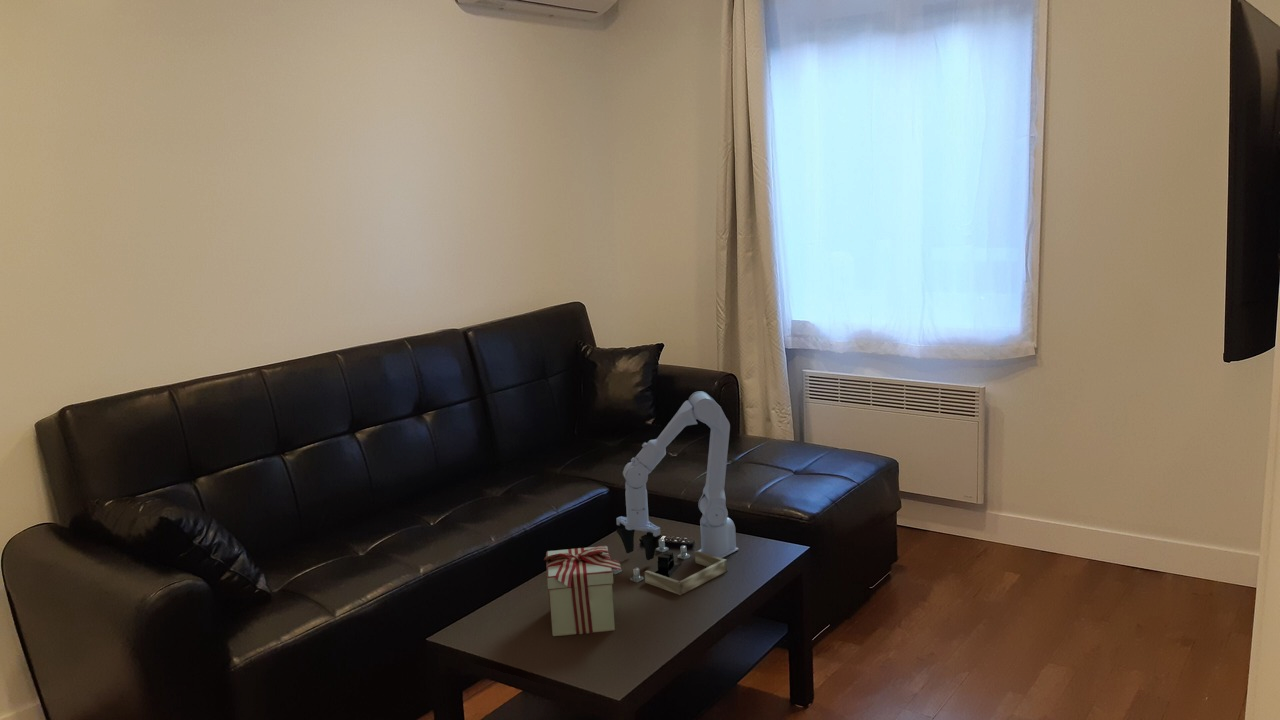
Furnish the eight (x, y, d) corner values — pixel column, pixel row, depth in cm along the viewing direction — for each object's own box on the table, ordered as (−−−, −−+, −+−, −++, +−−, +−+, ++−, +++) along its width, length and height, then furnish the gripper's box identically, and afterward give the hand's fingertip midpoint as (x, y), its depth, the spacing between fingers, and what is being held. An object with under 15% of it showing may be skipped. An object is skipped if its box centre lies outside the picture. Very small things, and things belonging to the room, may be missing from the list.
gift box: (553, 646, 210) (547, 573, 207) (545, 610, 228) (539, 542, 224) (629, 635, 213) (624, 563, 210) (615, 600, 231) (610, 533, 227)
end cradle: (692, 559, 252) (691, 549, 252) (727, 570, 244) (726, 559, 243) (645, 582, 240) (644, 571, 239) (680, 595, 231) (679, 583, 231)
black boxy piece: (669, 582, 240) (668, 565, 239) (643, 579, 243) (642, 562, 242) (687, 563, 251) (686, 546, 251) (662, 560, 254) (661, 544, 254)
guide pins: (662, 547, 261) (661, 537, 261) (690, 556, 254) (689, 546, 254) (608, 572, 247) (607, 561, 247) (636, 582, 240) (636, 571, 240)
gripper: (607, 505, 253) (610, 553, 255) (646, 517, 243) (649, 566, 245) (625, 498, 257) (628, 545, 260) (664, 509, 247) (667, 558, 250)
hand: (639, 555), depth 253 cm, fingers open, 7 cm apart
